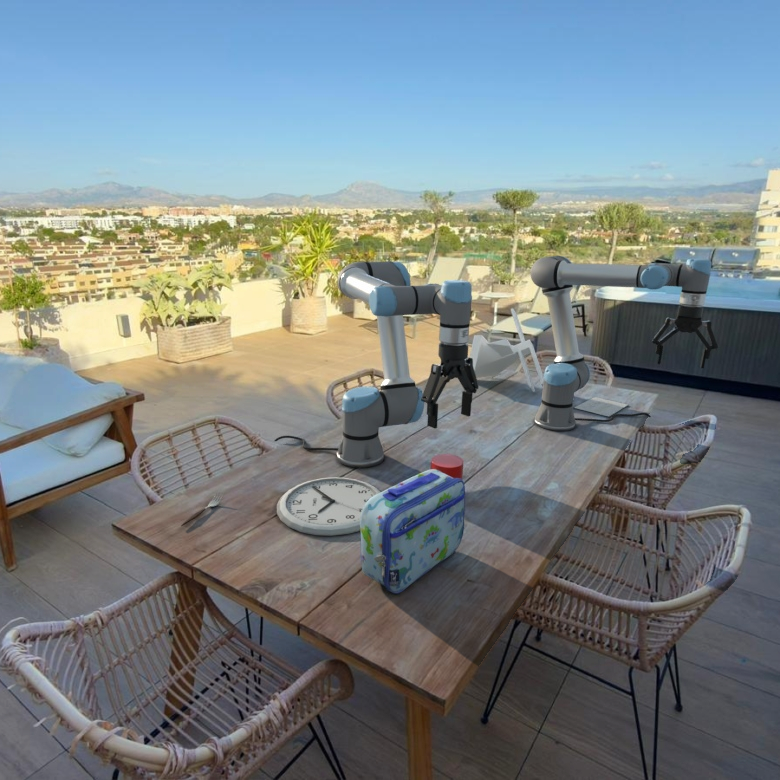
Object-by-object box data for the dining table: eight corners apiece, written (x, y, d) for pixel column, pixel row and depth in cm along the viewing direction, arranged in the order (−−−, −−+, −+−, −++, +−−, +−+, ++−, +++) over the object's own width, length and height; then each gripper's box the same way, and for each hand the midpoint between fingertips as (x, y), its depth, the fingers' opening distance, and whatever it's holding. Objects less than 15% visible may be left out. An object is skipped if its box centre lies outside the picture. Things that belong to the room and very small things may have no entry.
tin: (423, 496, 148) (425, 457, 145) (449, 490, 152) (451, 451, 149) (440, 510, 141) (442, 470, 137) (467, 503, 145) (469, 463, 141)
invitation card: (608, 416, 214) (573, 407, 224) (608, 416, 214) (573, 408, 224) (628, 404, 229) (594, 396, 238) (628, 405, 229) (594, 397, 238)
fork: (176, 526, 131) (176, 519, 130) (217, 497, 145) (217, 491, 145) (185, 528, 130) (184, 521, 130) (225, 499, 145) (224, 492, 144)
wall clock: (392, 527, 129) (268, 531, 127) (391, 533, 130) (269, 537, 127) (383, 473, 158) (282, 475, 155) (383, 478, 158) (282, 480, 156)
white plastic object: (480, 421, 262) (459, 398, 238) (462, 347, 285) (440, 320, 260) (552, 397, 250) (537, 370, 226) (527, 322, 272) (511, 290, 248)
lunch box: (388, 606, 105) (390, 514, 99) (353, 580, 112) (353, 493, 106) (468, 553, 123) (474, 472, 116) (433, 534, 130) (437, 457, 124)
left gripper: (431, 352, 122) (427, 436, 129) (495, 338, 139) (489, 413, 145) (408, 346, 128) (406, 427, 134) (472, 334, 144) (468, 407, 150)
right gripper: (651, 304, 180) (641, 363, 187) (735, 309, 171) (722, 371, 178) (650, 301, 187) (640, 359, 193) (731, 306, 178) (718, 366, 184)
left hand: (449, 420), depth 139 cm, fingers open, 13 cm apart
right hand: (679, 365), depth 185 cm, fingers open, 13 cm apart
